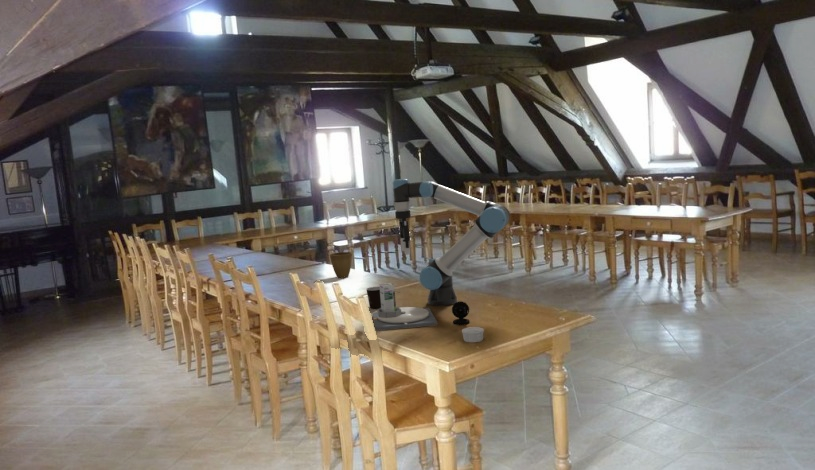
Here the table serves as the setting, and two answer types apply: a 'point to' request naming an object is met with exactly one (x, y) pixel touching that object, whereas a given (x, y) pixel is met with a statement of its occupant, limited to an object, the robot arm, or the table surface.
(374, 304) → the black cup
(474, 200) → the robot arm
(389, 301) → the syrup box
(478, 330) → the ramekin
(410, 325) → the base
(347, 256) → the plant pot
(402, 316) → the grey round plate
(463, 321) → the webcam
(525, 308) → the table surface
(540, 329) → the table surface
